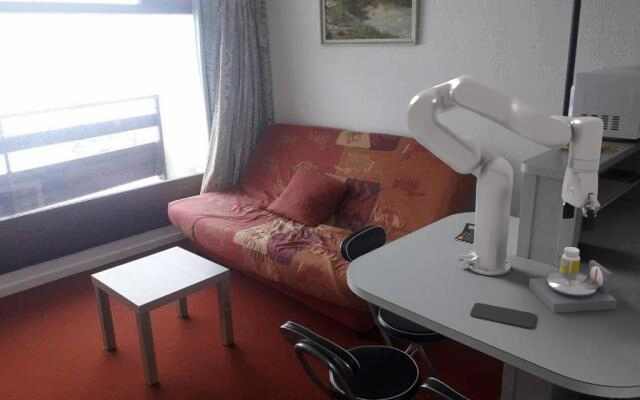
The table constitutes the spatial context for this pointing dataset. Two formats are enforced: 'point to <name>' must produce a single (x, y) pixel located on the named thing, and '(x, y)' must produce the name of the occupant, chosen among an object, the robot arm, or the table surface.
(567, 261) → the supplement bottle
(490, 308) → the phone
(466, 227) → the calculator
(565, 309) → the scale
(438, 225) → the table surface
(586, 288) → the scale pan
